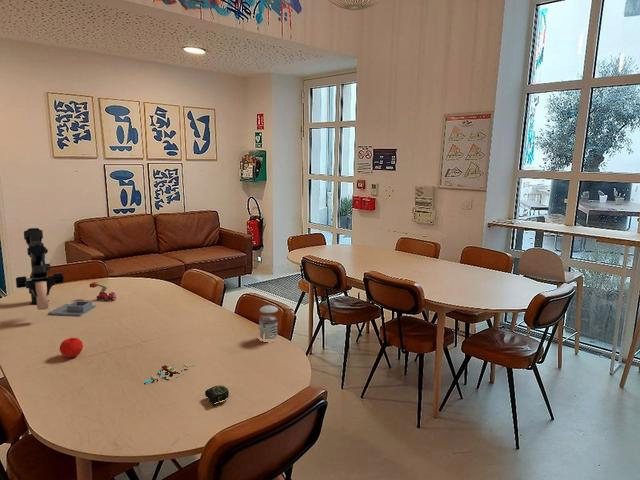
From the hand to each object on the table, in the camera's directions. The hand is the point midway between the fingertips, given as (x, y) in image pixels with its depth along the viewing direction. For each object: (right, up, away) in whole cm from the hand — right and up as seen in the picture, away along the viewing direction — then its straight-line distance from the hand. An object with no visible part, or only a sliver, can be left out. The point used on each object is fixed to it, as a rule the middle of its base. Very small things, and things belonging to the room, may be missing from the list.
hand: (42, 295), depth 200 cm
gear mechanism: (+74, -24, -41) cm, 88 cm away
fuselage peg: (-1, -6, +2) cm, 7 cm away
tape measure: (+95, -27, -58) cm, 115 cm away
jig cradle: (+3, -10, +20) cm, 22 cm away
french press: (+106, -19, -8) cm, 108 cm away
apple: (+31, -20, -30) cm, 48 cm away
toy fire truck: (+9, -8, +38) cm, 40 cm away
